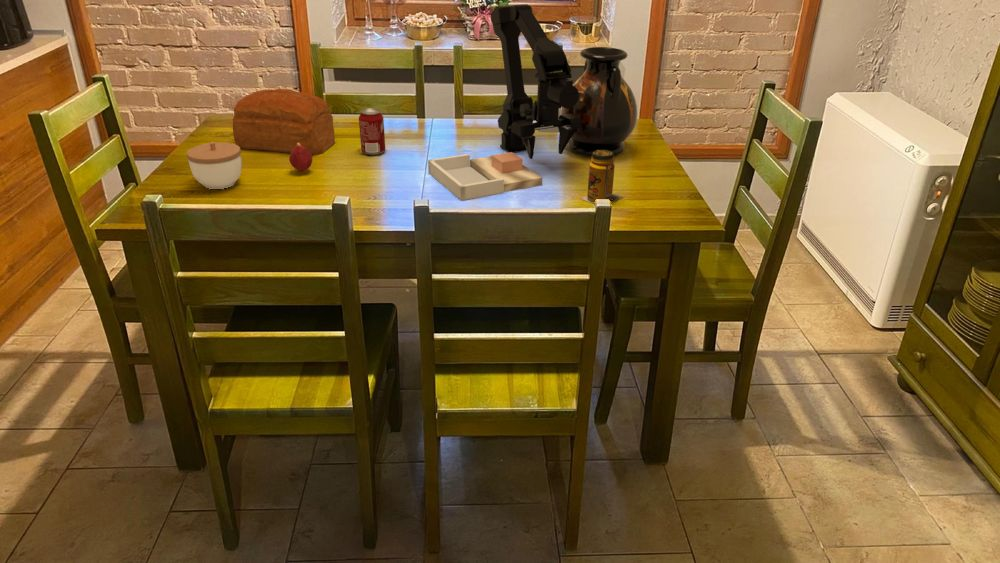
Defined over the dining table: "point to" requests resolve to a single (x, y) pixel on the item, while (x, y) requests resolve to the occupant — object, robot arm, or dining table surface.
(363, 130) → the soda can
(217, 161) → the lidded bowl
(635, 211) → the dining table surface
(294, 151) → the onion
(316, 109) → the bread
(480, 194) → the box
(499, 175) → the wooden board
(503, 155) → the block
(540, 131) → the grey rectangular box
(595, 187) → the condiment
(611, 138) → the amphora vase
